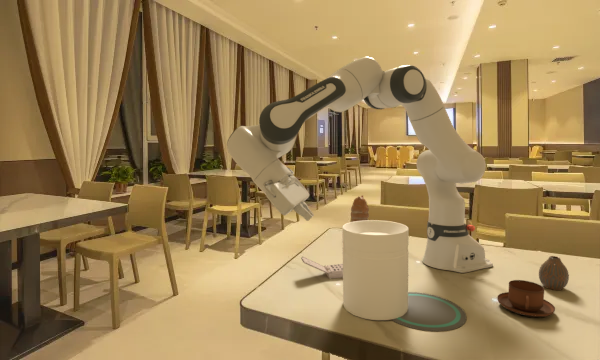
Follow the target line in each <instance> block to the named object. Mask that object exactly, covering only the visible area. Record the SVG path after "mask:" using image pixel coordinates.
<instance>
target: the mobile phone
mask: <svg viewBox="0 0 600 360" xmlns="http://www.w3.org/2000/svg"><path fill="white" fill-rule="evenodd" d="M300 258H301V261H302V263H304V264H305V265H307V266H309V267H312V268H314V269H316V270H319V271H321V272H323V273H325V275H326V276H327V278H328V279H339V278H342V279H343V263H337V264H336V263H335V264H328V265H326V264H325V265H322V264H320V263H317V262H316V261H313V260H311V259H309V258H307V257H306V256H301V257H300Z"/></svg>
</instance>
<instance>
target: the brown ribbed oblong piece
mask: <svg viewBox="0 0 600 360" xmlns="http://www.w3.org/2000/svg"><path fill="white" fill-rule="evenodd" d="M352 204H353V205H352V206H351V208H350V211H351V212H350V217H351V222H355V221H364V220H369V219H368V218H369V216H370V213H369V210H370V209H369V205H368V202H367V200H366V199H365V198H364V195H363V194H362V195H361V196H357V197H355V198H354V199H353V202H352Z"/></svg>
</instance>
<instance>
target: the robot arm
mask: <svg viewBox="0 0 600 360" xmlns="http://www.w3.org/2000/svg"><path fill="white" fill-rule="evenodd" d="M361 101H364V103H365V104H366V105H367V106H368V107H369V108H371V109H374V110H385V109H392V108H396V107H399V106H402V107H403V108H404V110H405V112H406V115H407V117H408V119H409V121H410V124H411V126H412V129H413V131H414V134H415V135H416V139H417V140H418V141H419V143H420V144H421V145H423V146H424V147H426V148H427V149H428V150H424V151H422V152H421V153H420V154H419V155H418V156H417V159H416V170H417V172H418V173H419V175H420V176H421V177H422V180H423V181H424V183H425V187H426V190H427V194H428V221H427V224H426V226H427V227H426V236H427V239H426V240H427V242H426V246H425V251H424V255H423V258H422V260H421V261H422V263H423V264H425V265H426V266H429V267H431V268H434V269H439V270H445V271H451V272H456V273H460V274H463V273H468V272H474V271H478V270H482V269H487V268H491V267H492V268H493V267H494V265H493V262H492V261H491V260H490V259H487V258H486V251H485V248H484V246H483V245H482V244H481V243H479V242H478V241H477V240H476V239H475V238H474V237H472V236H471V235H470V234H469V231H470V232H475V230H476V226H475V225H473V224H466V223H465V217H466V216H465V213H466V210H465V209H466V201H465V198H464V197H463V196H462V195H461V194H460V192H459V191H458V188H457V186H456V184H459V185H460V184H470V183H471V184H472V183H476V182H478V181H480V180H481V179H482V177H483V176H484V174H485V171H486V169H487V167H486V166H487V165H486V164H487V163H486V159H485V158H484V156H483V154H481V153H480V152H478V151H477V150H475V149H474V148H472V147H471V146H470V145H469V144H468V143H467V142H466V141H465V140H464V139H463V138H462V137H461V135H460V134H459V133H458V132H457V130H456V129H455V127H454V125H453V123H452V121H451V119H450V116H449V115H448V112H447V110H446V107H445V104H444V103H443V100H442V98H441V96H440V94H439V92H438V90H437V88H436V87H435V86H434V84H433V83H432V81H431V80H430V79H428V78H425V75H424V73H423V72H422V70H420V68H418V67H417V66H415V65H412V64H411V65H410V64H409V65H408V64H406V65H400V66H398V67H394V68H390V69H387V70H385V71H384V70H383V69H382V67H381V65H380V63H379V62H378V60H376V59H374V58H373V57H369V56H364V57H360V58H357V59H355V60H353V61H351V62H348V63H347V64H346V65H343V66H342V67H341V68H339V69H337V70H336V71H334V72H333V73H332V74H331V75H329V76H327V77H326V78H325V79H322V80H321V81H319V82H318V83H315V84H314V85H312V86H310V87H309V88H307V89H305V90H303V91H302V92H300V93H298V94H296V95H295V96H293V97H291V98H288V99H284V100H283V99H282V100H277V101H274V102H271V103H269V104H268V105H266V106H265V107H264V108H263V109H262V111H261V112H260V114H259V119H258V120H259V121H258V123H259V124H256V125H255V124H254V125H248V126H247V125H246V126H245V125H240V126H238V127H237V128H236V129H234V131H233V132H232V133H231V134H230V135H229V137H228V139H227V143H226V150H227V153H228V154H229V156H230V157H231V158H232V159H233V161H234V162H235V163H236V165H237V166H238V167H239V168H240V170H242V171H243V172H245V173H246V174H247V175H248V176H249V177H250V178H251V180H252V181H253V183H254V184H255V185H256V186H257V187H258V188H259V190H261V191H262V192H263V193H264V195H265V196H266V198H267V199H268V201H270V203H271V204H272V205H273V207H274V208H275V209H276V210H277V211H278V213H279V214H281V215H282V216H287V215H288V214H290V213H291V212H292V211H294V212H296V214H298V215H299V216H301V217H302V218H303V219H304V220H305V221H307V222H308V221H310V220H311V219H312V218H313V217H314V213H313V212H312V210H311V209H310V208H309V206H308V204H307V203H306V200H307V199H309V197H310V193H309V192H308V191H309V190H307V188H306V187H305V186H304V185H303V184H302V182H301V181H300V180H299V179H298V177H296V176H295V175H294V174H295V172H294V171H293V170H292V169H291V168H289V167H287V166H286V165H285V164H284V163H283V162H282V161H281V160H280V159H279V158H281V157H283V156H284V155H286V154H287V153H289V152H290V151H291V150H292V149H293V147H294V145H295V142H296V140H297V137H298V134H299V133H300V130H301V129H302V127H303V124H305V122H306V121H307V120H309V119H310V118H312V117H314V116H316V114H318V113H320V112H321V111H323V110H324V109H326V108H329V109H330V110H332V111H333V112H336V113H342V112H343V113H344V112H345V111H347V110H349V109H352V108H353V107H354V106H356V105H358V104H359V103H360V102H361Z"/></svg>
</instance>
